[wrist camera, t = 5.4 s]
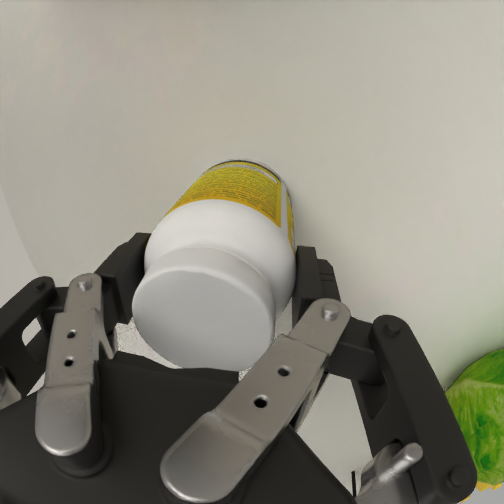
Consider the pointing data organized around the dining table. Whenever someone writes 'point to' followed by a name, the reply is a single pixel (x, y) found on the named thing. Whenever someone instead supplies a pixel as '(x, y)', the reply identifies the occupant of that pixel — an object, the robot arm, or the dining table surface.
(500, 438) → the lettuce
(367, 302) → the dining table surface
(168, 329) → the pill bottle
